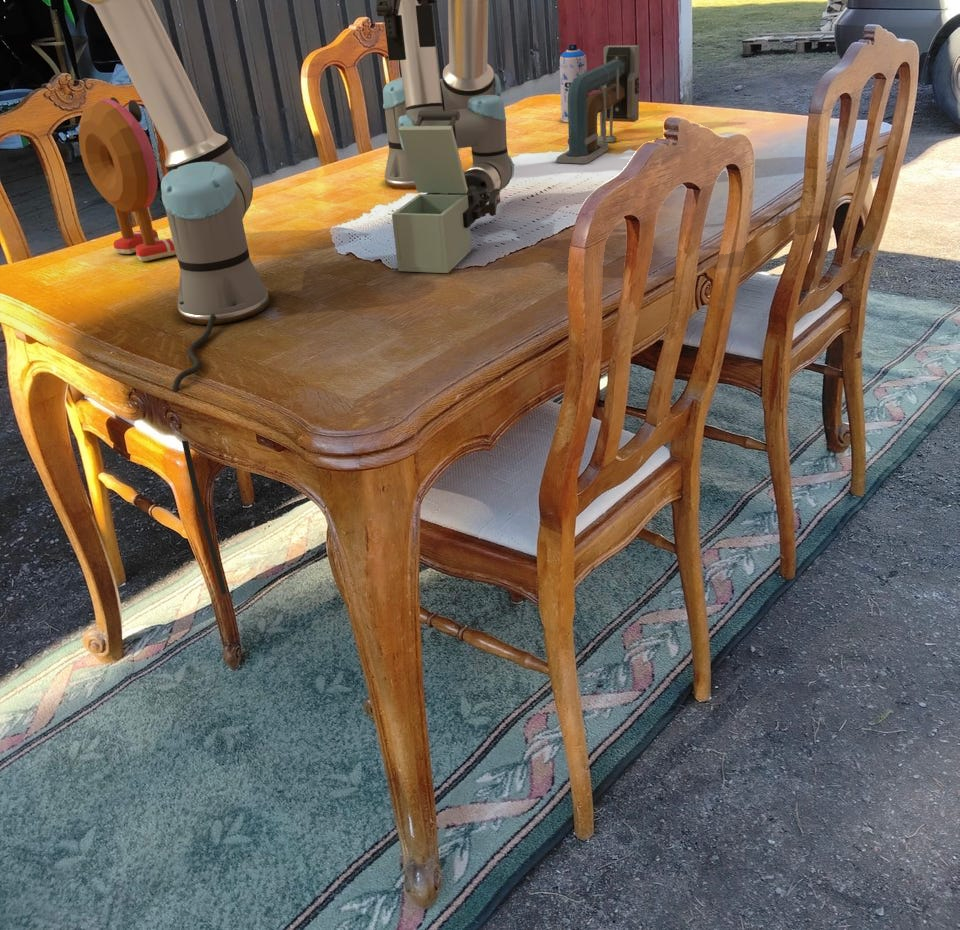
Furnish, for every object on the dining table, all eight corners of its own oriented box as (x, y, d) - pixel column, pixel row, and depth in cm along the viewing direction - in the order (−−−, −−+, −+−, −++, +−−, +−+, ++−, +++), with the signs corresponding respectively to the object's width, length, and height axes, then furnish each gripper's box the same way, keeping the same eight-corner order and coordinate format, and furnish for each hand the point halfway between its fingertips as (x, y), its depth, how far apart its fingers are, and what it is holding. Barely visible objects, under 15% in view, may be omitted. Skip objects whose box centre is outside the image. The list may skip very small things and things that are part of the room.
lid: (450, 129, 167) (462, 101, 171) (398, 129, 170) (412, 102, 174) (466, 193, 178) (477, 165, 182) (417, 192, 181) (429, 165, 185)
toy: (199, 253, 194) (163, 96, 179) (154, 268, 188) (113, 106, 173) (144, 236, 207) (106, 89, 192) (101, 250, 201) (58, 98, 186)
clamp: (586, 163, 233) (584, 69, 222) (553, 162, 237) (550, 69, 226) (638, 131, 258) (639, 45, 248) (607, 130, 262) (607, 45, 251)
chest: (448, 273, 173) (442, 215, 168) (398, 271, 176) (391, 214, 171) (471, 250, 184) (467, 194, 178) (424, 248, 187) (418, 194, 181)
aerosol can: (559, 122, 275) (557, 47, 265) (562, 117, 282) (559, 42, 272) (587, 121, 274) (585, 45, 263) (589, 115, 280) (587, 41, 270)
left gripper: (406, -95, 161) (419, 42, 172) (342, -89, 141) (361, 66, 152) (448, -99, 159) (459, 40, 170) (389, -93, 139) (405, 65, 150)
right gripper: (530, 206, 196) (497, 241, 178) (427, 204, 202) (385, 237, 185) (528, 168, 192) (494, 200, 174) (424, 168, 199) (381, 198, 181)
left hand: (413, 53), depth 161 cm, fingers open, 13 cm apart
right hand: (438, 219), depth 179 cm, fingers closed on chest, 10 cm apart
